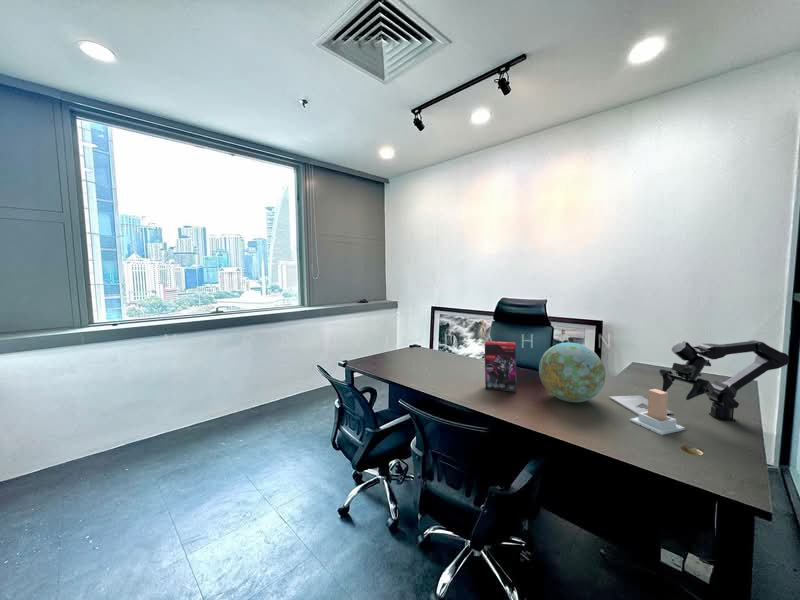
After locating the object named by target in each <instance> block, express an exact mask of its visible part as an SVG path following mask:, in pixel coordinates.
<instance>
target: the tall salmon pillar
mask: <svg viewBox="0 0 800 600" xmlns="http://www.w3.org/2000/svg"><path fill="white" fill-rule="evenodd" d="M647 395H648V398H647V399H648V416H649V417H652V418H654V419H656V420H659V421H665V420H667V416H668V415H667V409H668V400H669V399H668V397H669V393H668V392H667V391H666V392H664V391H662V390H661V389H658V388H652V389H651V388H650V389H648V393H647Z"/></svg>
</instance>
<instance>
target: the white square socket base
mask: <svg viewBox="0 0 800 600" xmlns="http://www.w3.org/2000/svg"><path fill="white" fill-rule="evenodd" d="M629 420H630V421H629V422H632V423H634V424H637V425H639V426H640V425H641V427H643V428H645V429H648V430H649V429H650V430H649V431H652V432H654V433H656V434H658V435H660V436H664V435H668V434H672V433H676V432H681V431H684V430H686V429H685V426H682V425H680V424H677V419H676V418H674V417H671V416H668V415H667V420H665V421H659V420H656V419H654V418H652V417H649V416H648V411H647V412H642V413H639V414H638V415H637V417H634V418H633V417H632V418H630V419H629Z"/></svg>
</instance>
